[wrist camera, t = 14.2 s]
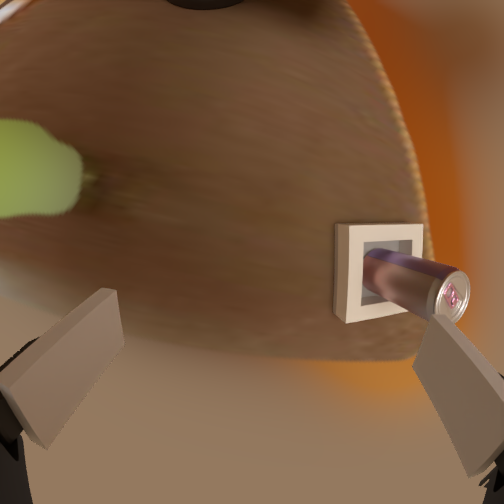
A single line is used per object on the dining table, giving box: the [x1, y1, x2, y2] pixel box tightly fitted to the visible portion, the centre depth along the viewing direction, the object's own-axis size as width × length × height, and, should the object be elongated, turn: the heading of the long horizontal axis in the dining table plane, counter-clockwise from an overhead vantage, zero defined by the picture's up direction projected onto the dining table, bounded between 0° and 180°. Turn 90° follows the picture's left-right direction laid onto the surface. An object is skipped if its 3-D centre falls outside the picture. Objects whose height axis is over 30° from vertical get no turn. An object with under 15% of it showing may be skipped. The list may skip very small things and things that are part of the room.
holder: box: [333, 222, 423, 323], centre depth 35 cm, size 12×12×4 cm
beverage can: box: [362, 248, 470, 324], centre depth 29 cm, size 6×6×15 cm
